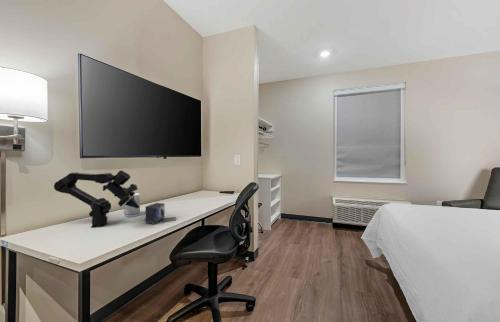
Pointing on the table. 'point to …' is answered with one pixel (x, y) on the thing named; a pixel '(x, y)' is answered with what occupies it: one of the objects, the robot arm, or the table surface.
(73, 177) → the robot arm
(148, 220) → the small box
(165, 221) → the pad
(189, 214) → the table surface
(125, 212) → the supplement tub
